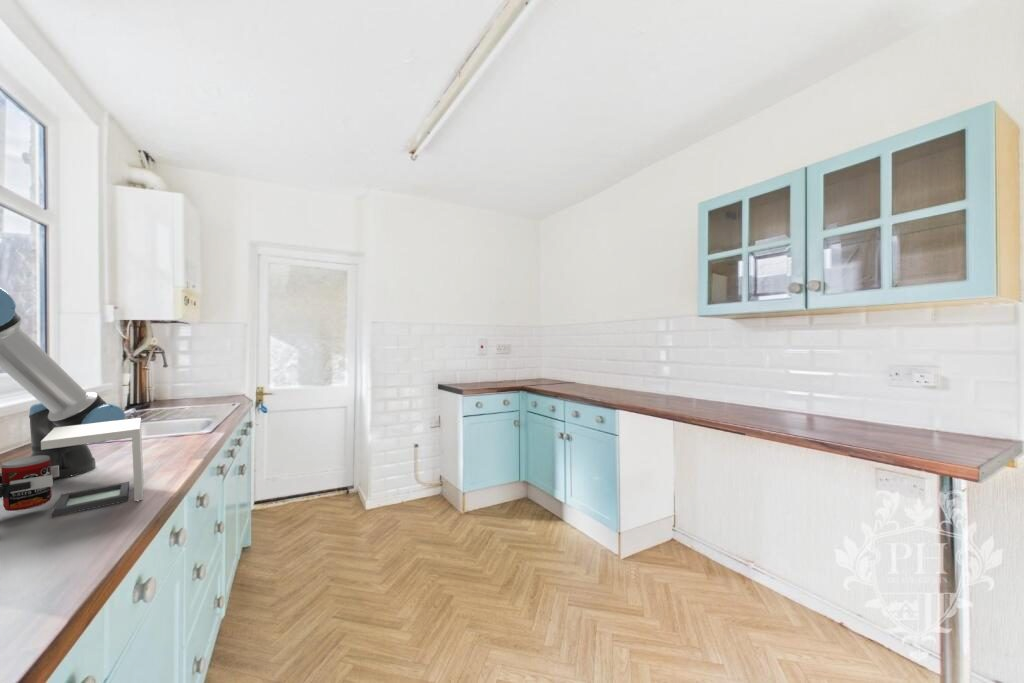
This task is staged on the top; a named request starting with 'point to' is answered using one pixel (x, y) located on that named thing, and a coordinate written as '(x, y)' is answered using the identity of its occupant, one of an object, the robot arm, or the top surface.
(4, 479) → the canned food
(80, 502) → the grey picture frame
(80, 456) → the robot arm
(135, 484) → the shelf
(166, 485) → the top surface
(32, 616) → the top surface
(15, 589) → the top surface
